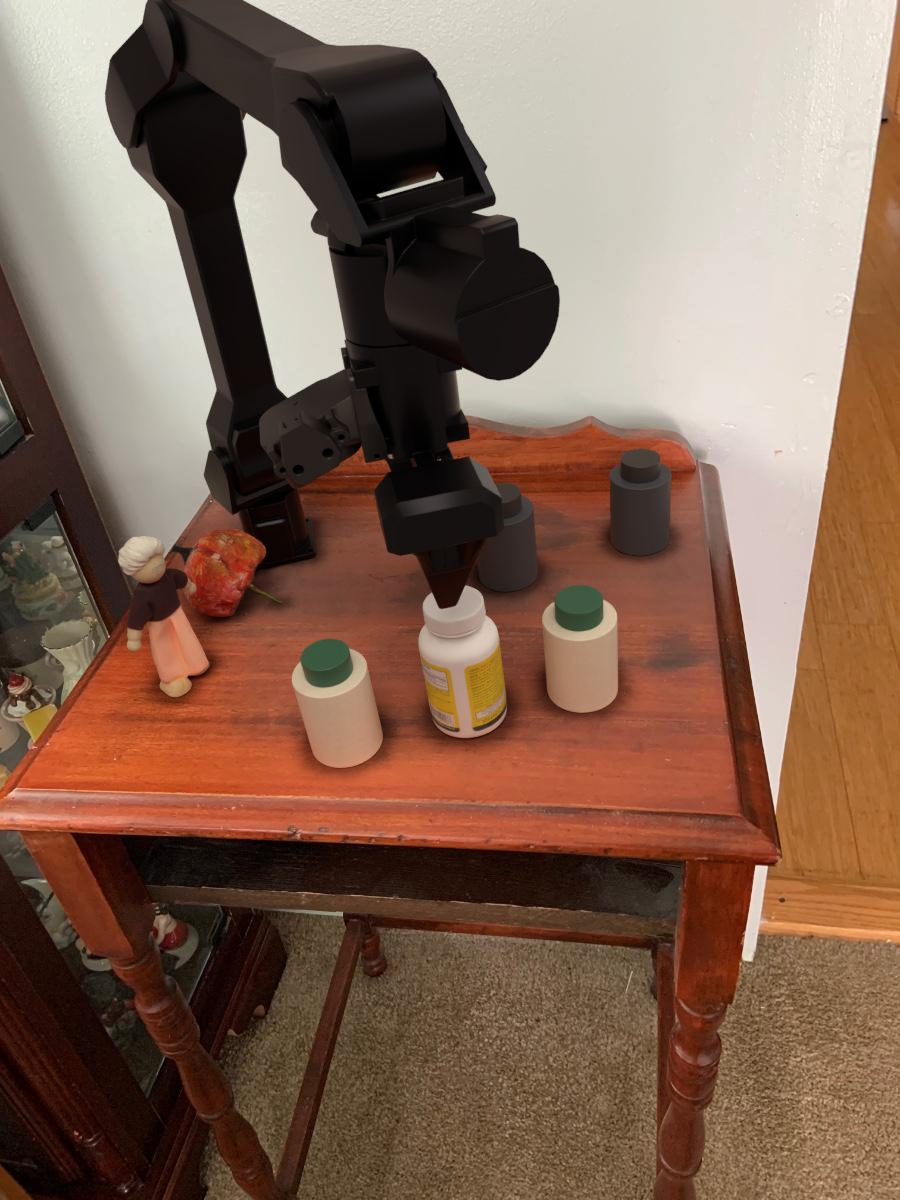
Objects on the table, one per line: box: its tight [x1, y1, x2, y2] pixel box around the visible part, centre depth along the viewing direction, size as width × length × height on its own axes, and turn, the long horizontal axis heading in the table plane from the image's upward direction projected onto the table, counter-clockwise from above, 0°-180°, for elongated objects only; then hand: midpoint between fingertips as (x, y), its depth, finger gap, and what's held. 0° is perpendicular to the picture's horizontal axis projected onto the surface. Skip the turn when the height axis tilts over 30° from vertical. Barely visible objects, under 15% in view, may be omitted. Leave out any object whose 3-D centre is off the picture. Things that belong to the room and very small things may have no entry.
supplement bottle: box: [417, 585, 508, 739], centre depth 61 cm, size 5×5×10 cm
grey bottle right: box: [609, 448, 672, 557], centre depth 76 cm, size 5×5×8 cm
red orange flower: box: [168, 528, 282, 618], centre depth 76 cm, size 7×7×10 cm
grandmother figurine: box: [117, 535, 210, 698], centre depth 68 cm, size 8×4×13 cm, turn 168°
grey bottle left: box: [476, 482, 539, 593], centre depth 75 cm, size 5×5×8 cm
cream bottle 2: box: [541, 584, 619, 714], centre depth 62 cm, size 5×5×8 cm
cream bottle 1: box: [291, 638, 384, 769], centre depth 61 cm, size 5×5×8 cm
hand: (433, 564), depth 58 cm, fingers open, 9 cm apart
